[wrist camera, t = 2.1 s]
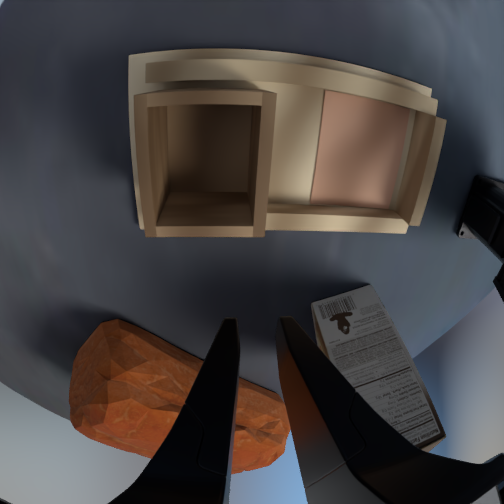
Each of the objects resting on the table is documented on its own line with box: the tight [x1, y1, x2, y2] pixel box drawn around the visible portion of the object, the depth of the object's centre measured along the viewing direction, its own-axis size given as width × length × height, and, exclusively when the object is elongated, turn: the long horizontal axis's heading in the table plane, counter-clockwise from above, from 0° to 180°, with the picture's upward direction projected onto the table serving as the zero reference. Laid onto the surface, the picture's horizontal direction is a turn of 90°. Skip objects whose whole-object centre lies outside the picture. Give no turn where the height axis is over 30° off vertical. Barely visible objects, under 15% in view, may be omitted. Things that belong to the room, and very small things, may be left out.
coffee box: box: [311, 285, 446, 452], centre depth 21 cm, size 9×6×16 cm
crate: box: [134, 88, 277, 237], centre depth 14 cm, size 6×7×5 cm
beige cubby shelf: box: [128, 49, 447, 234], centre depth 16 cm, size 20×12×3 cm, turn 87°
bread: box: [69, 319, 291, 474], centre depth 28 cm, size 16×27×11 cm, turn 44°
